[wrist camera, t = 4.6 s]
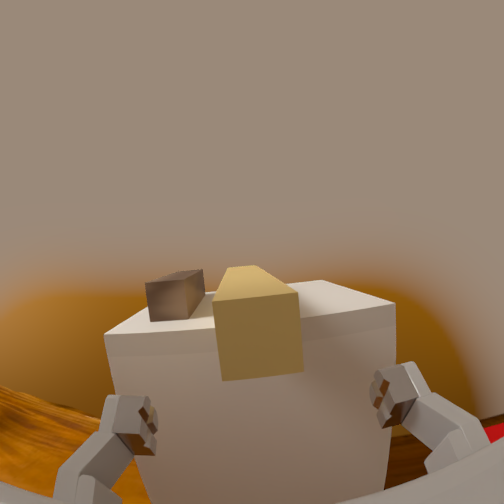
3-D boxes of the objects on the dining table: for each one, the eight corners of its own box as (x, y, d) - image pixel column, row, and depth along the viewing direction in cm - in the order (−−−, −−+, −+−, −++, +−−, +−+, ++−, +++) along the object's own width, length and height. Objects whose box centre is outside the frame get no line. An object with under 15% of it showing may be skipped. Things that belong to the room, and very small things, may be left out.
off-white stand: (179, 562, 20) (103, 334, 20) (195, 463, 40) (164, 296, 40) (373, 538, 21) (395, 303, 21) (328, 448, 41) (321, 279, 41)
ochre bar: (222, 381, 11) (211, 301, 11) (230, 295, 35) (227, 267, 35) (303, 372, 11) (298, 292, 11) (258, 292, 35) (255, 264, 35)
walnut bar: (150, 322, 23) (144, 282, 23) (180, 297, 37) (177, 271, 37) (188, 319, 23) (183, 279, 23) (205, 294, 37) (202, 269, 37)
